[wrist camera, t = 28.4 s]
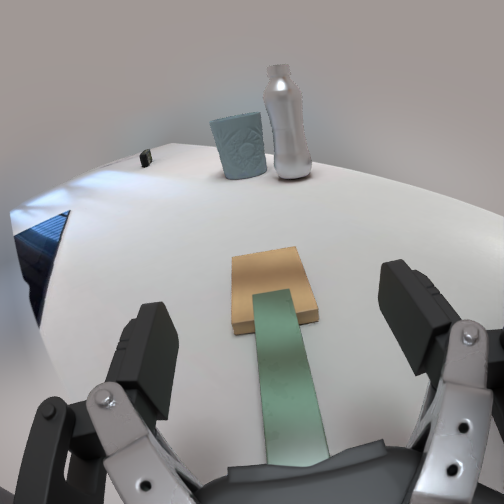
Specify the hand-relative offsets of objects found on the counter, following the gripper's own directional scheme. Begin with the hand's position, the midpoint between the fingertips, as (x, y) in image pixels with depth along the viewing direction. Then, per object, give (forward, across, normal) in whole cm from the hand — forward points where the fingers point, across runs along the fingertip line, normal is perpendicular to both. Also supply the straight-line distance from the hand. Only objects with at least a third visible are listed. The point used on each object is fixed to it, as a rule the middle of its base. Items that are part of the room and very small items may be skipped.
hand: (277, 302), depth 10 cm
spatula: (+6, 0, -8) cm, 10 cm away
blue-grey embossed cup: (+51, -1, -8) cm, 51 cm away
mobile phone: (+95, -35, -8) cm, 102 cm away
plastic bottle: (+42, +8, -8) cm, 43 cm away
